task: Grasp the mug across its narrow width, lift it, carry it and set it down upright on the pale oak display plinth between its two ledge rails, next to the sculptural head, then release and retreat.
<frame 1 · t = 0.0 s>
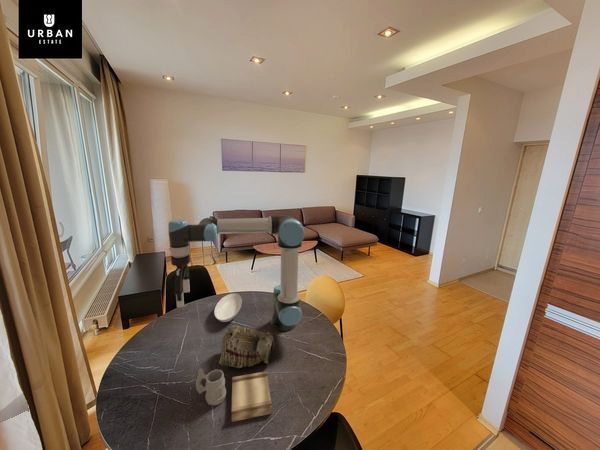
hand: (183, 299, 112), 28 cm above the table, fingers open, 13 cm apart
plinth: (250, 398, 95), on the table
mug: (211, 397, 95), on the table
sculptural head: (246, 359, 115), on the table
bowl: (229, 314, 150), on the table
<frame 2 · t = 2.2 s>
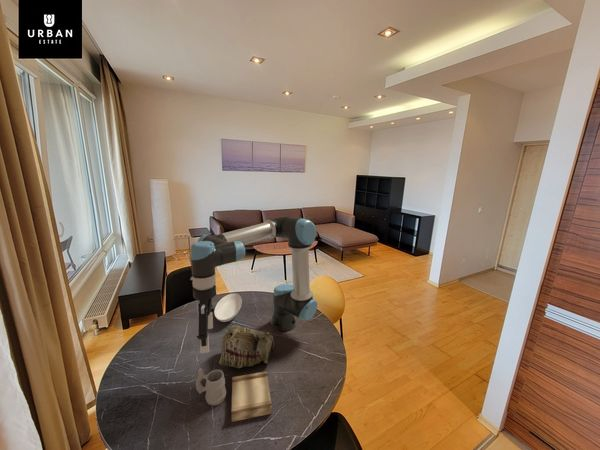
hand: (207, 339, 90), 25 cm above the table, fingers open, 13 cm apart
nothing on the table moved.
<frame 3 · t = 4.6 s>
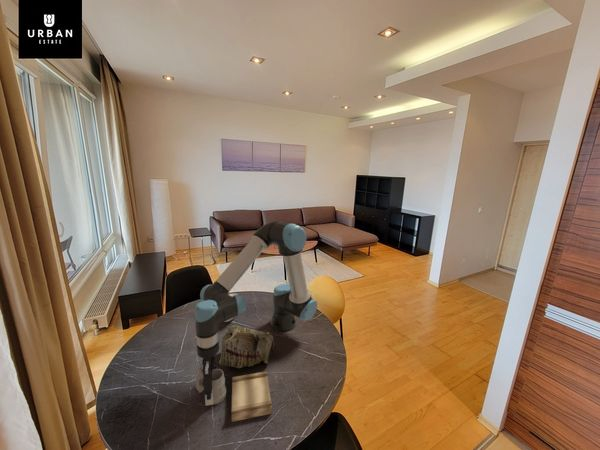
hand: (210, 394, 94), 1 cm above the table, fingers closed on mug, 8 cm apart
mug: (211, 396, 95), on the table, touching gripper
everything else where it was.
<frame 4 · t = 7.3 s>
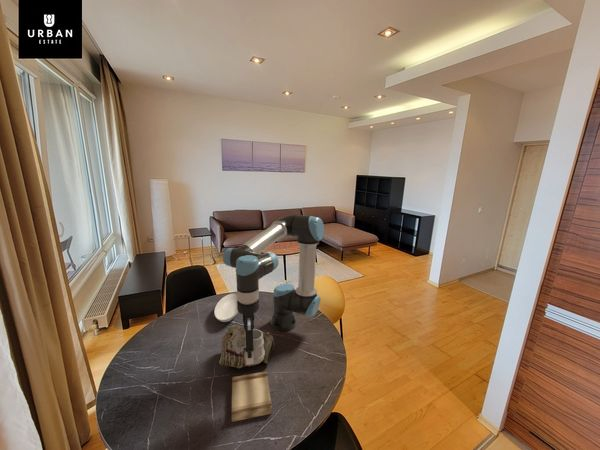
hand: (249, 355, 91), 19 cm above the table, fingers closed on mug, 8 cm apart
mug: (249, 357, 92), point 17 cm above the table, touching gripper
everything else where it was.
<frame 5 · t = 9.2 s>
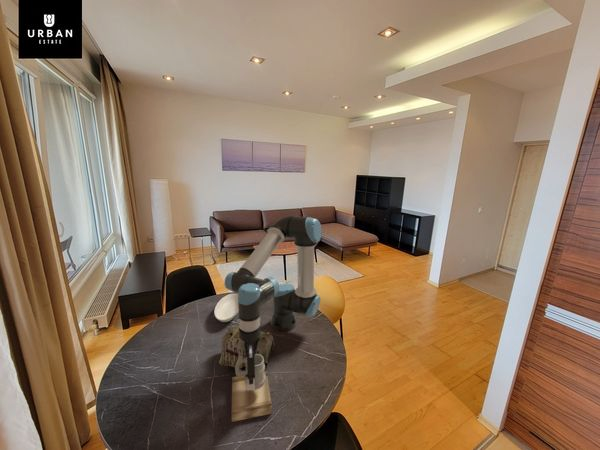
hand: (250, 379, 93), 8 cm above the table, fingers closed on mug, 8 cm apart
mug: (250, 381, 94), point 7 cm above the table, touching gripper
everything else where it was.
when the fingers open (6 cm above the table, at t = 10.1 s): mug drops 2 cm, resting on plinth.
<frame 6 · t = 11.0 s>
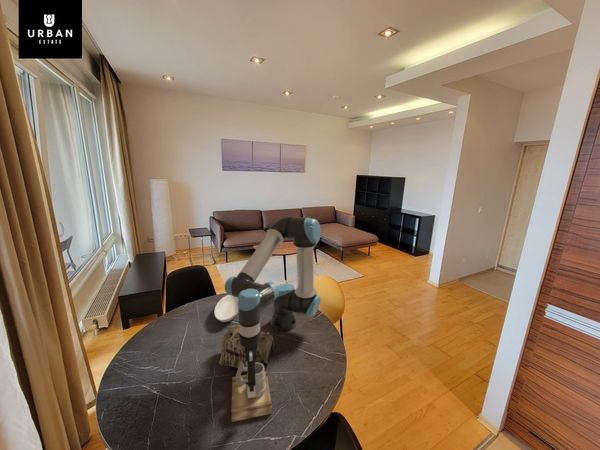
hand: (250, 380, 93), 8 cm above the table, fingers open, 13 cm apart
mug: (251, 390, 95), point 3 cm above the table, touching plinth
everything else where it was.
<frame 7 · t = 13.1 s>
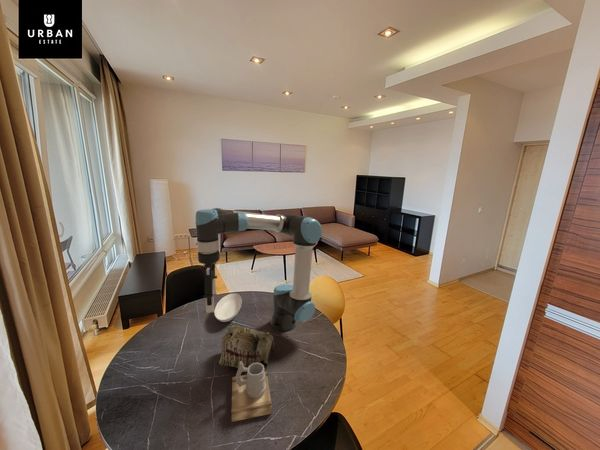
hand: (211, 302, 96), 35 cm above the table, fingers open, 13 cm apart
nothing on the table moved.
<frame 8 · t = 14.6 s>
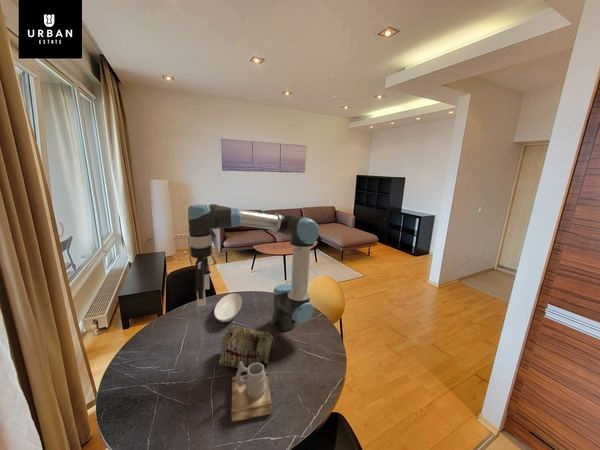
hand: (204, 296, 97), 37 cm above the table, fingers open, 13 cm apart
nothing on the table moved.
at the end: mug inside the target area on the plinth (0.7 cm from its centre), point 2.8 cm above the plinth's base; mug tilted 0°; the gripper is holding nothing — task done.
